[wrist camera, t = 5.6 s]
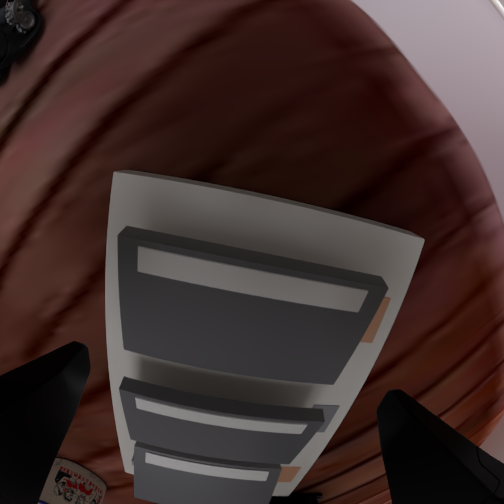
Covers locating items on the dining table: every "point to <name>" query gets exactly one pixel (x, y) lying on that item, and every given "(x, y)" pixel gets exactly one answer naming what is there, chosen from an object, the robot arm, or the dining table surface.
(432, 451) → the robot arm
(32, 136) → the dining table surface
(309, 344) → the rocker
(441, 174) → the dining table surface
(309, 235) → the switch panel
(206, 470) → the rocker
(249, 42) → the dining table surface
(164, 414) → the panel
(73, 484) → the teacup with lid
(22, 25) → the can opener
